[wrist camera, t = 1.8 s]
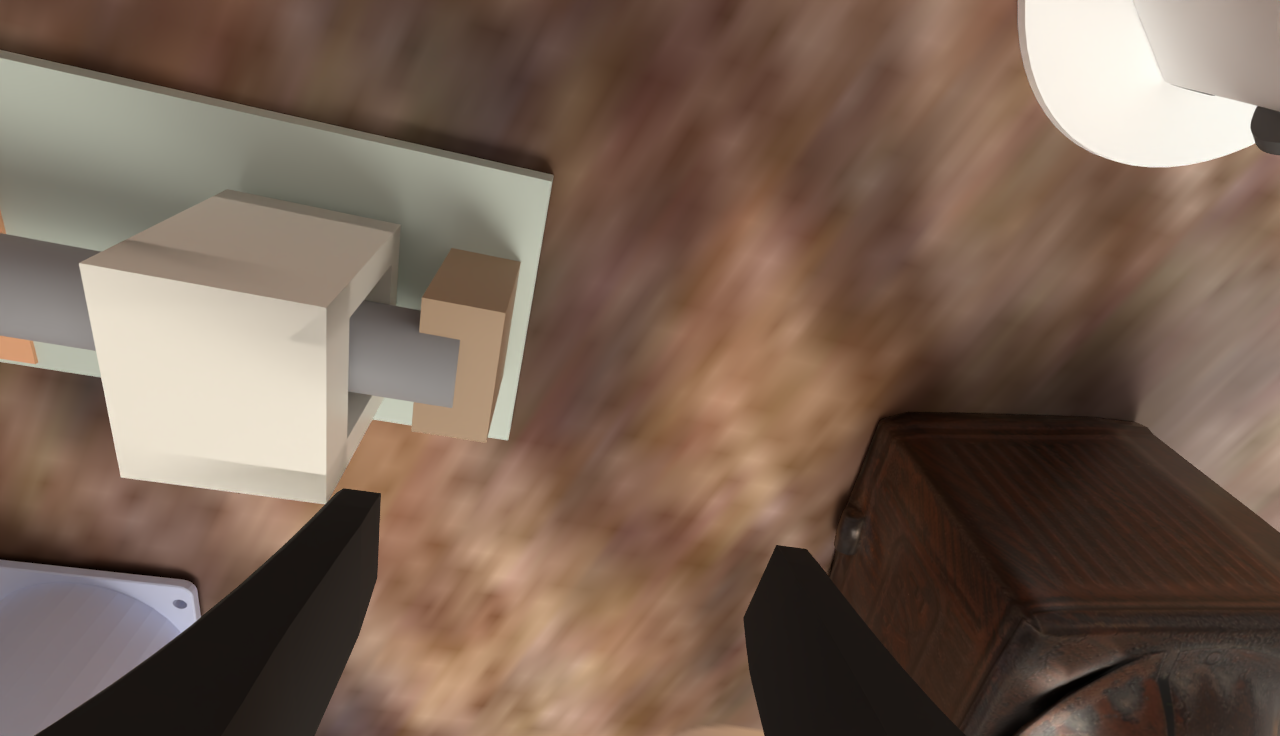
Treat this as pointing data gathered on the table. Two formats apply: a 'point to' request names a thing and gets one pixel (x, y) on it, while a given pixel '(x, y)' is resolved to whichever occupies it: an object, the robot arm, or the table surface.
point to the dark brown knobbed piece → (1063, 578)
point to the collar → (238, 343)
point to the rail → (280, 169)
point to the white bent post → (1156, 75)
